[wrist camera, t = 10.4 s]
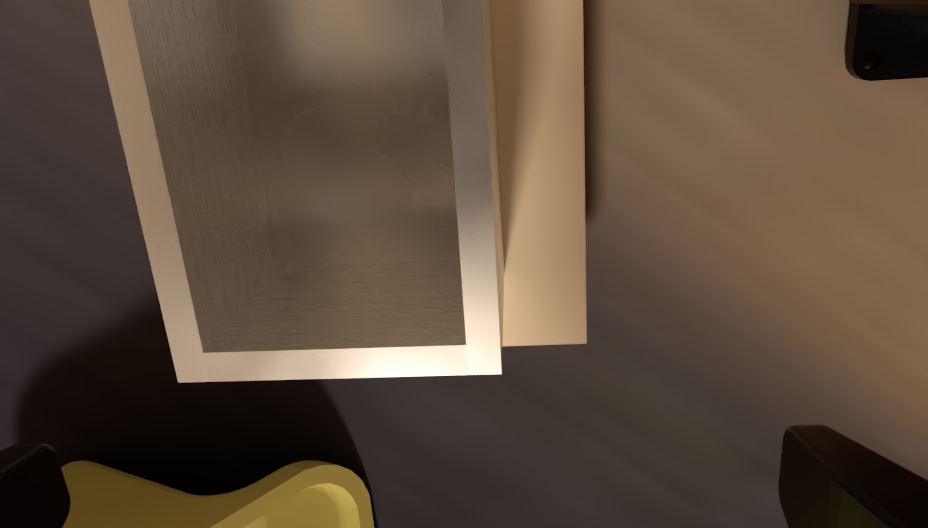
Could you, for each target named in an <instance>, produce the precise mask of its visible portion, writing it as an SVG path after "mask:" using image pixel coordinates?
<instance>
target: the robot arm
mask: <svg viewBox="0 0 928 528" xmlns="http://www.w3.org/2000/svg"><path fill="white" fill-rule="evenodd" d="M849 1H850V2H852V5H851V14H850V22H849V31H848V40H847V49H846V58H845V63H846V69H847V70H848V72H849V74H850V75H852V76H854V77H855V78H858V79H862V80H869V81H876V80H892V79H908V78H924V77H928V0H849ZM870 50H874V51H875V52H876V55H877V59H876V61H875V64H874V65H872V66H871V67H870V68H867V69H866V68H865V67H864V66H863V58H864V56H865V54H866V53H867V52H868V51H870ZM778 488H779V498H780V503H781V507H782V510H783V513H784V516H785V519H786V521H787V524H788V527H789V528H928V480H927V479H925V478H923V477H921V476H919V475H918V474H916V473H914V472H912V471H910V470H908V469H906V468H904V467H903V466H901V465H899V464H897V463H895V462H893V461H891V460H889V459H888V458H886V457H884V456H882V455H880V454H878V453H876V452H874V451H873V450H871V449H869V448H867V447H865V446H863V445H861V444H859V443H858V442H856V441H854V440H852V439H850V438H848V437H846V436H844V435H843V434H841V433H839V432H837V431H835V430H833V429H831V428H829V427H827V426H825V425H793V426H790V427H788V428H787V429H786V431H785V433H784V436H783V444H782V454H781V464H780V474H779V485H778ZM70 504H71V501H70V494H69V491H68V488H67V484H66V481H65V478H64V475H63V472H62V469H61V466H60V462H59V459H58V456H57V454H56V451H55V450H54V449H53V448H52V447H51V446H50V445H48V444H17V445H13V446H10V447H8V448H6V449H4V450H1V451H0V528H63V526H64V524H65V522H66V520H67V517H68V515H69V511H70Z"/></svg>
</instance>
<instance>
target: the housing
mask: <svg viewBox="0 0 928 528" xmlns="http://www.w3.org/2000/svg"><path fill="white" fill-rule="evenodd" d="M89 2H90V6H91V10H92V15H93V19H94V23H95V28H96V32H97V36H98V40H99V45H100V49H101V53H102V58H103V62H104V66H105V70H106V75H107V79H108V83H109V88H110V92H111V96H112V101H113V105H114V109H115V113H116V118H117V122H118V126H119V131H120V135H121V139H122V144H123V148H124V152H125V156H126V161H127V165H128V169H129V174H130V178H131V182H132V187H133V191H134V195H135V199H136V204H137V208H138V212H139V217H140V221H141V225H142V230H143V234H144V238H145V242H146V247H147V251H148V255H149V260H150V264H151V268H152V272H153V277H154V281H155V285H156V290H157V294H158V298H159V303H160V307H161V311H162V315H163V320H164V324H165V328H166V333H167V337H168V341H169V346H170V350H171V354H172V358H173V363H174V367H175V371H176V376H177V380H178V383H185V382H223V381H261V380H299V379H337V378H375V377H413V376H451V375H489V374H502V348H503V308H504V255H503V234H502V213H501V192H500V172H499V151H498V130H497V110H496V89H495V68H494V48H493V27H492V6H491V0H89Z"/></svg>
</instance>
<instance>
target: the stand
mask: <svg viewBox="0 0 928 528" xmlns="http://www.w3.org/2000/svg"><path fill="white" fill-rule="evenodd" d="M491 6H492V27H493V48H494V68H495V89H496V110H497V130H498V151H499V172H500V192H501V213H502V234H503V255H504V308H503V346H527V345H557V344H587V338H586V240H585V142H584V44H583V0H491Z"/></svg>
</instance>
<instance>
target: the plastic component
mask: <svg viewBox="0 0 928 528" xmlns="http://www.w3.org/2000/svg"><path fill="white" fill-rule="evenodd" d="M61 469H62V472H63V475H64V478H65V481H66V484H67V488H68V491H69V494H70V501H71V504H70V511H69V515H68V517H67V520H66V522H65V524H64V526H63V528H374V522H373V515H372V508H371V501H370V495H369V493H368V491H367V489H366V487H365V485H364V483H363V481H362V480H361V479H360V478H359V477H358V476H357V475H356V474H355V473H354V472H353V471H351V470H349V469H347V468H344V467H341V466H339V465H335V464H331V463H328V462H323V461H314V460H307V461H300V462H295V463H292V464H289V465H286V466H284V467H282V468H280V469H278V470H277V471H275V472H273V473H271V474H270V475H268V476H266V477H265V478H263V479H261V480H259V481H258V482H256V483H254V484H252V485H249V486H247V487H245V488H242V489H239V490H236V491H233V492H230V493H224V494H218V495H211V496H199V495H191V494H188V493H185V492H182V491H179V490H176V489H173V488H170V487H167V486H164V485H161V484H158V483H155V482H152V481H149V480H146V479H143V478H140V477H137V476H134V475H131V474H128V473H125V472H122V471H119V470H116V469H113V468H110V467H107V466H104V465H101V464H98V463H95V462H91V461H74V462H71V463H68V464H66V465H64V466H63V467H61Z"/></svg>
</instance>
